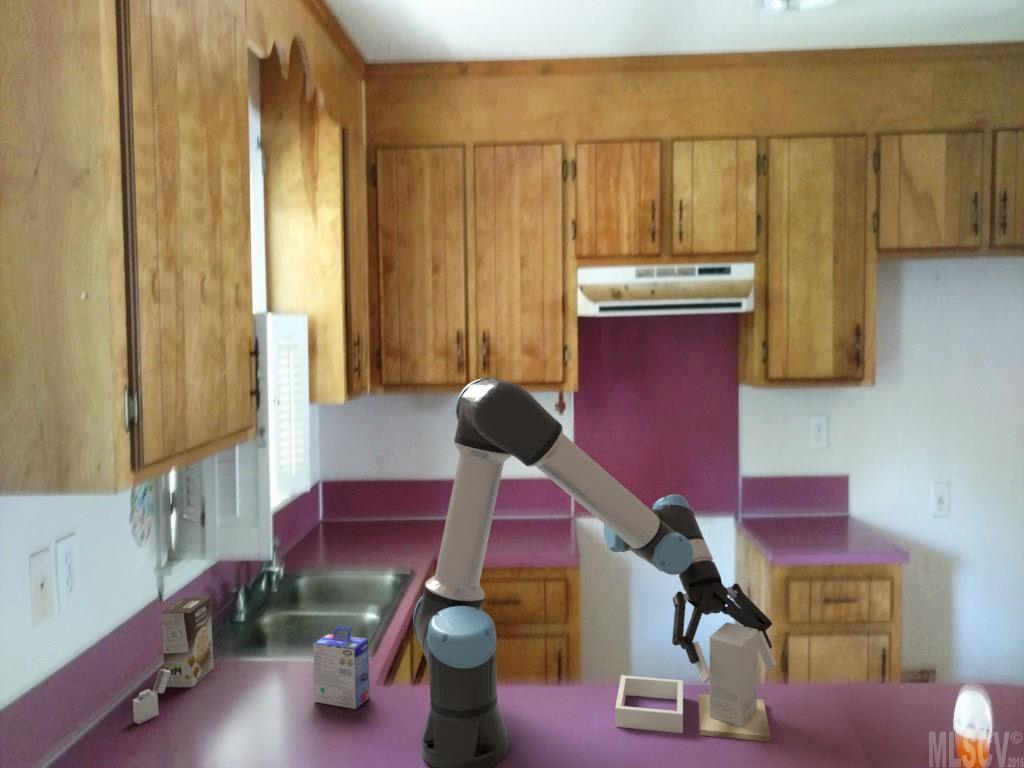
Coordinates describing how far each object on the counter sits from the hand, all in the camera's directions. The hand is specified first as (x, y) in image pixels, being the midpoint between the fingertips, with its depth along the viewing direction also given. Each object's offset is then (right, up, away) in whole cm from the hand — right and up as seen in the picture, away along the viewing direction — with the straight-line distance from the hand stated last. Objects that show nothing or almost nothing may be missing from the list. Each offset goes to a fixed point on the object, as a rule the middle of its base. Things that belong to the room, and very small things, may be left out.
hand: (740, 674), depth 134 cm
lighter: (-111, -12, +10) cm, 112 cm away
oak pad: (0, -10, +3) cm, 10 cm away
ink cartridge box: (-75, -11, +14) cm, 77 cm away
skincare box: (0, -9, +3) cm, 9 cm away
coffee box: (-110, -11, +25) cm, 114 cm away
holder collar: (-15, -10, +6) cm, 19 cm away
